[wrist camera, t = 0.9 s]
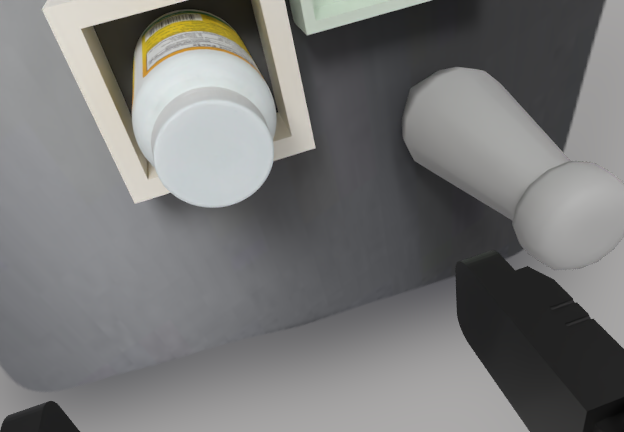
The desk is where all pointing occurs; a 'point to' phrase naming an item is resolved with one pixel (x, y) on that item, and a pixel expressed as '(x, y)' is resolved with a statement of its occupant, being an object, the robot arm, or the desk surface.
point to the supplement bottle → (202, 109)
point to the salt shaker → (513, 167)
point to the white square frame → (111, 104)
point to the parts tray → (340, 12)
